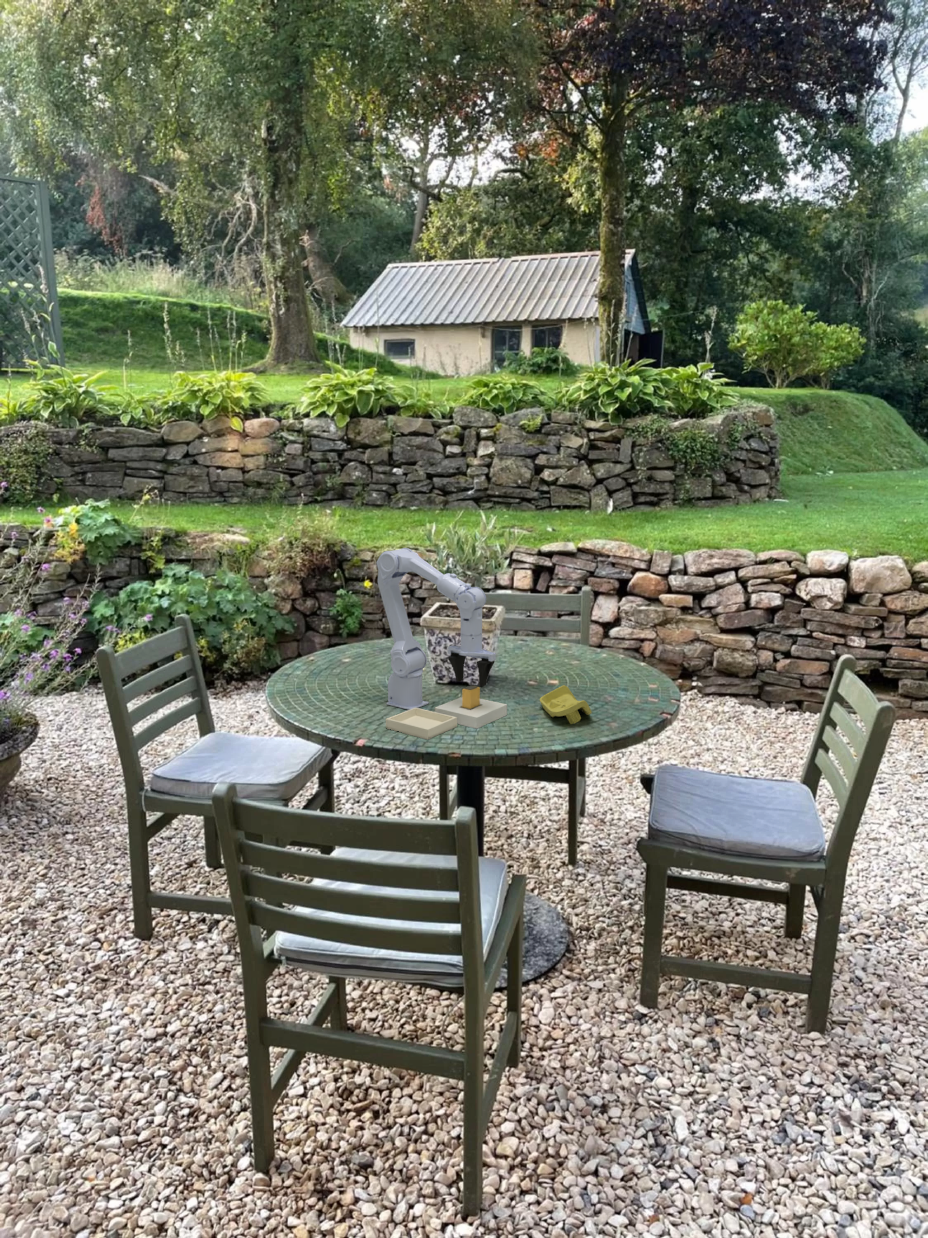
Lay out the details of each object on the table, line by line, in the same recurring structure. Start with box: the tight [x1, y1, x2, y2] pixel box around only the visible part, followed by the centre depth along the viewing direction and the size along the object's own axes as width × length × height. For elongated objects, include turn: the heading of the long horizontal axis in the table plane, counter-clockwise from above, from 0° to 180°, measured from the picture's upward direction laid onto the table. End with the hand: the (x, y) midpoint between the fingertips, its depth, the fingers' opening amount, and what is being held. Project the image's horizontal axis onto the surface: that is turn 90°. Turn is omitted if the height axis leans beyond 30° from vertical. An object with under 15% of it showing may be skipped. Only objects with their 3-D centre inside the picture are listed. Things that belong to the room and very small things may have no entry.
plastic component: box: [539, 684, 592, 725], centre depth 223 cm, size 20×7×10 cm
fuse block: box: [434, 696, 508, 729], centre depth 223 cm, size 14×14×3 cm
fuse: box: [461, 685, 481, 710], centre depth 222 cm, size 3×4×8 cm, turn 143°
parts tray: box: [385, 707, 458, 740], centre depth 214 cm, size 14×12×3 cm
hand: (471, 683), depth 221 cm, fingers open, 7 cm apart
